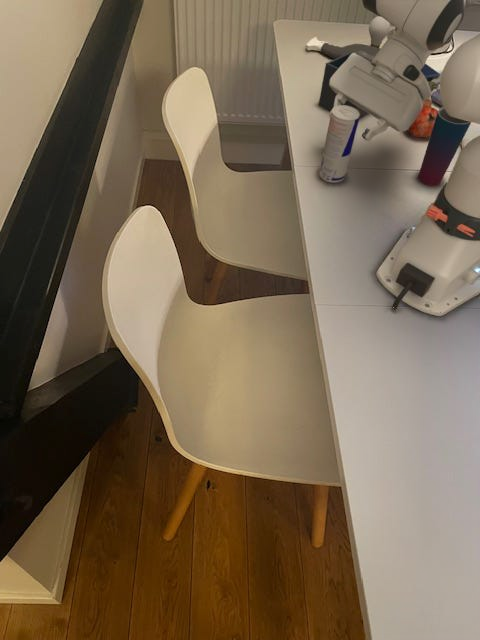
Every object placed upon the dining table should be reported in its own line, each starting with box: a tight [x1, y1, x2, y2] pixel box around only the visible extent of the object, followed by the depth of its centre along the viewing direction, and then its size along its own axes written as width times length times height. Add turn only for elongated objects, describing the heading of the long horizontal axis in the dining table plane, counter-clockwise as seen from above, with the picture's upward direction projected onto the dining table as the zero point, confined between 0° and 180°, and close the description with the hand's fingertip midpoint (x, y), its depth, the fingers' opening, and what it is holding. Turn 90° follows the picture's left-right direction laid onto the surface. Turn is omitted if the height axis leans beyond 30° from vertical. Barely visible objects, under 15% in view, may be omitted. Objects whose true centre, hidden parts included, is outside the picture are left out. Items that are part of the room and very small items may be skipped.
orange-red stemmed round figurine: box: [407, 104, 439, 138], centre depth 120 cm, size 7×7×10 cm
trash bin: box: [318, 51, 370, 120], centre depth 125 cm, size 11×11×11 cm
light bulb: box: [368, 15, 391, 48], centre depth 146 cm, size 6×6×10 cm
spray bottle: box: [305, 36, 381, 60], centre depth 146 cm, size 3×11×24 cm
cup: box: [417, 106, 472, 186], centre depth 105 cm, size 7×7×15 cm
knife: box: [428, 72, 442, 93], centre depth 139 cm, size 20×1×3 cm
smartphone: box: [420, 63, 441, 80], centre depth 144 cm, size 8×1×15 cm
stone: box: [423, 98, 433, 107], centre depth 132 cm, size 9×2×3 cm
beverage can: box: [318, 105, 360, 184], centre depth 104 cm, size 6×6×15 cm
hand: (348, 128), depth 102 cm, fingers open, 8 cm apart
